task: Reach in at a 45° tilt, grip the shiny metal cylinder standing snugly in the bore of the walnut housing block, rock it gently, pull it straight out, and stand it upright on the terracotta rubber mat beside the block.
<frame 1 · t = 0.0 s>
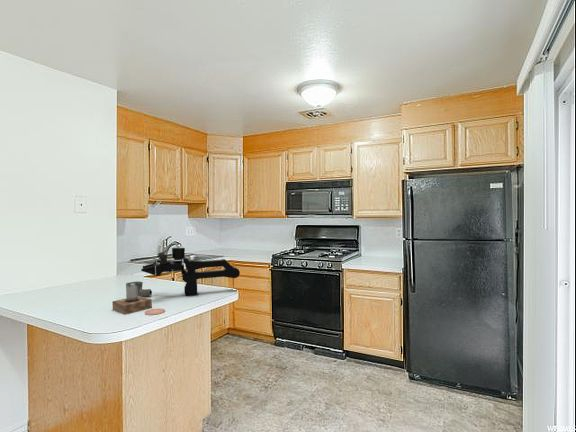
hand: (141, 268, 185), 17 cm above the table, tool horizontal, fingers open, 9 cm apart
mat: (155, 312, 160), on the table
housing: (132, 308, 167), on the table
shiny metal cylinder: (132, 295, 167), in the housing
pipe: (140, 296, 191), on the table
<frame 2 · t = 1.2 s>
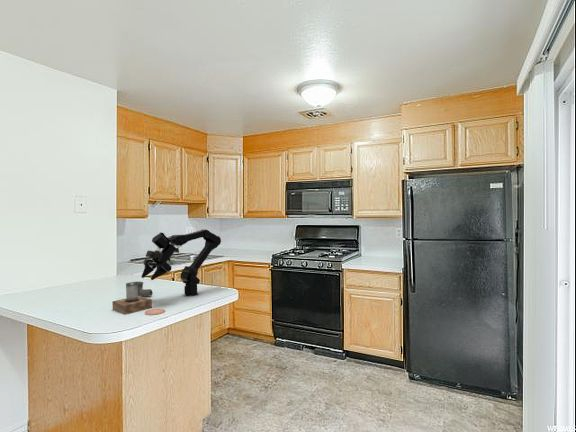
hand: (146, 278, 173), 13 cm above the table, tool tilted 45°, fingers open, 9 cm apart
nothing on the table moved.
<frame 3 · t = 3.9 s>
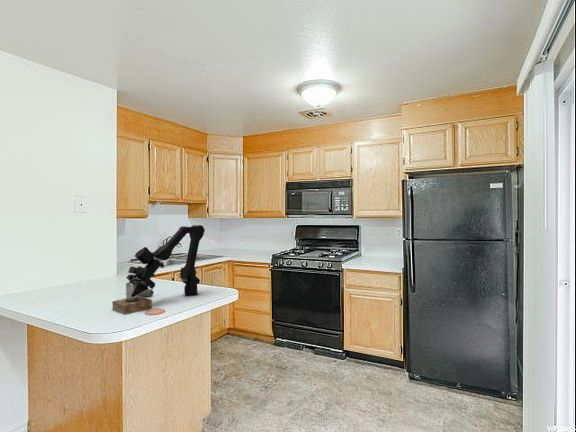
hand: (129, 295, 166), 7 cm above the table, tool tilted 45°, fingers closed on shiny metal cylinder, 5 cm apart
shiny metal cylinder: (131, 295, 167), in the housing, touching gripper
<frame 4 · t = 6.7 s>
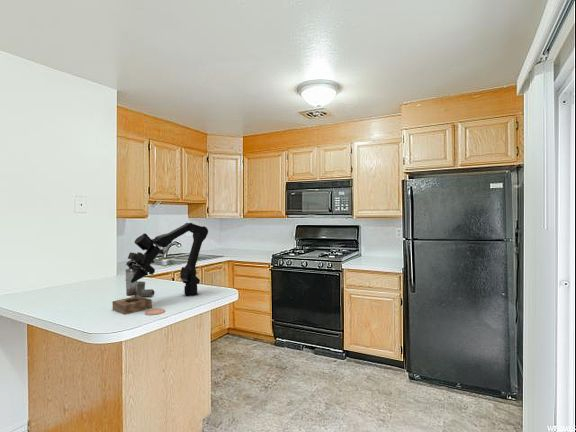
hand: (128, 281, 166), 13 cm above the table, tool tilted 45°, fingers closed on shiny metal cylinder, 5 cm apart
shiny metal cylinder: (131, 281, 167), point 13 cm above the table, touching gripper
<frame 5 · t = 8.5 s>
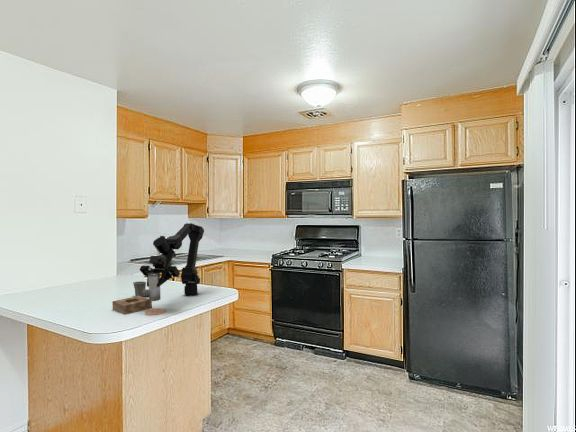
hand: (152, 286, 159), 12 cm above the table, tool tilted 45°, fingers closed on shiny metal cylinder, 5 cm apart
shiny metal cylinder: (154, 286, 160), point 12 cm above the table, touching gripper
when the fingers open (8 cm above the table, at t = 9.8 s): shiny metal cylinder stays where it is, resting on mat.
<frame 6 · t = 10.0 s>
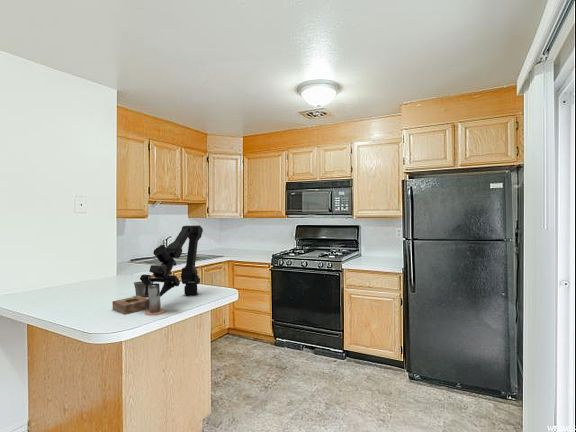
hand: (152, 295, 159), 8 cm above the table, tool tilted 45°, fingers open, 7 cm apart
shiny metal cylinder: (154, 297, 160), on the mat
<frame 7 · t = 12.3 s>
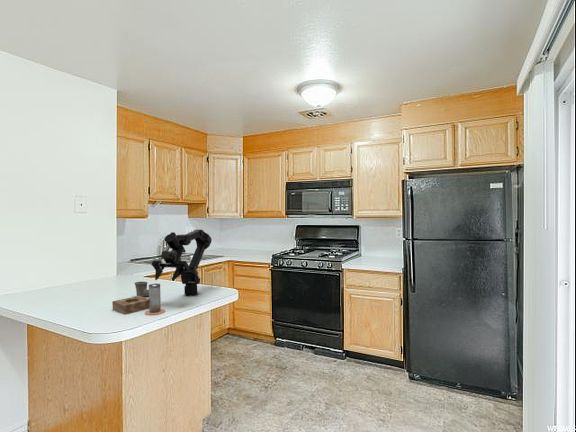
hand: (164, 279, 168), 14 cm above the table, tool tilted 45°, fingers open, 9 cm apart
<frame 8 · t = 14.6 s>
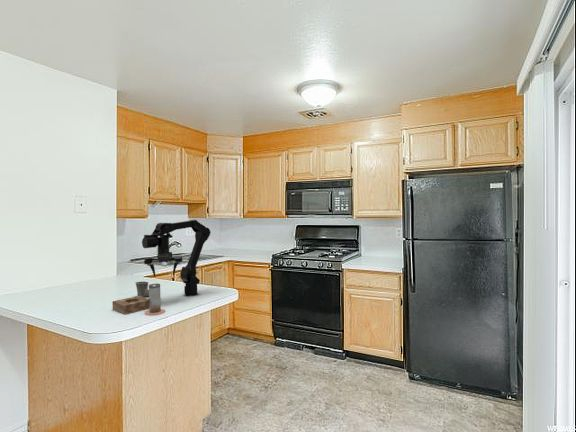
hand: (164, 276, 181), 13 cm above the table, tool pointing down, fingers open, 9 cm apart
at the end: shiny metal cylinder 0.1 cm off-centre on the mat, point 6.7 cm above the mat's base; shiny metal cylinder tilted 0°; the gripper is holding nothing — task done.
